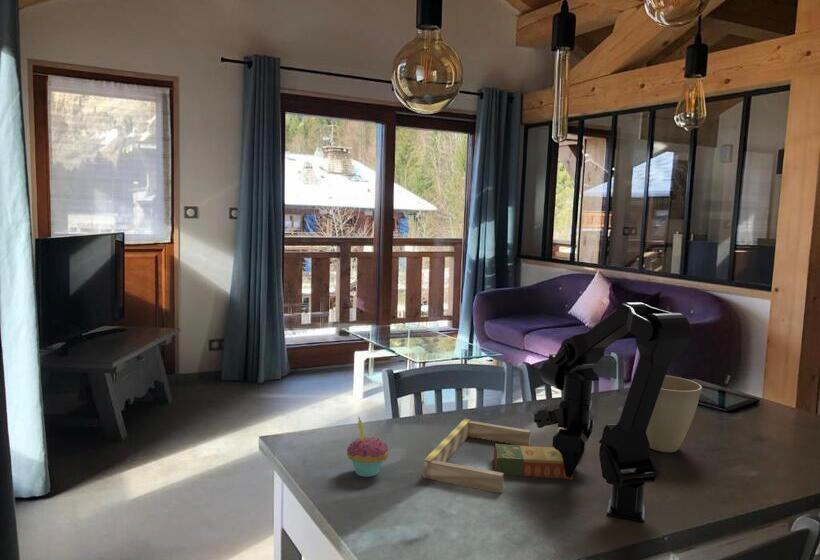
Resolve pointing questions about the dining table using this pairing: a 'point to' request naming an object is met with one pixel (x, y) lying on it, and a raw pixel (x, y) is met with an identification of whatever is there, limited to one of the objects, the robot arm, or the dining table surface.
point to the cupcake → (367, 454)
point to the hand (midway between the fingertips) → (571, 468)
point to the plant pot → (673, 413)
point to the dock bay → (463, 474)
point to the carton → (529, 461)
